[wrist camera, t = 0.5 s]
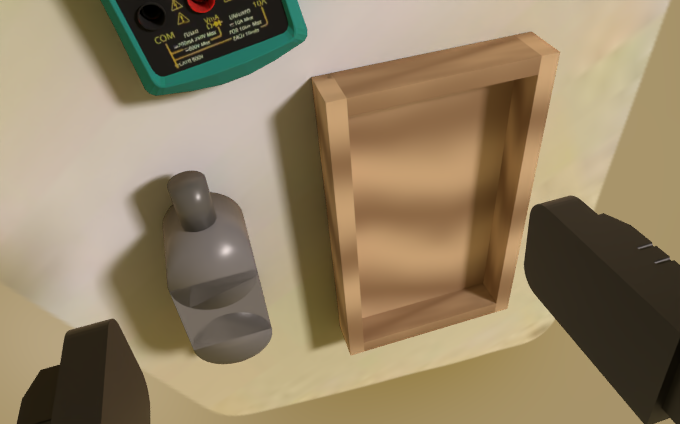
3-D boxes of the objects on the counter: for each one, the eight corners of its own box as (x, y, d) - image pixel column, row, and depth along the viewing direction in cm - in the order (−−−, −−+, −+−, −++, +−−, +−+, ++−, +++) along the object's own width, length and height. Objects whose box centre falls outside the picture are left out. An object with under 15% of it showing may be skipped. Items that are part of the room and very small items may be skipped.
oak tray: (311, 77, 27) (325, 102, 25) (531, 31, 29) (560, 51, 27) (340, 326, 40) (350, 355, 38) (490, 283, 42) (507, 308, 41)
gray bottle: (138, 166, 28) (140, 223, 24) (226, 147, 28) (239, 199, 25) (203, 333, 37) (210, 390, 33) (268, 315, 37) (281, 369, 34)
